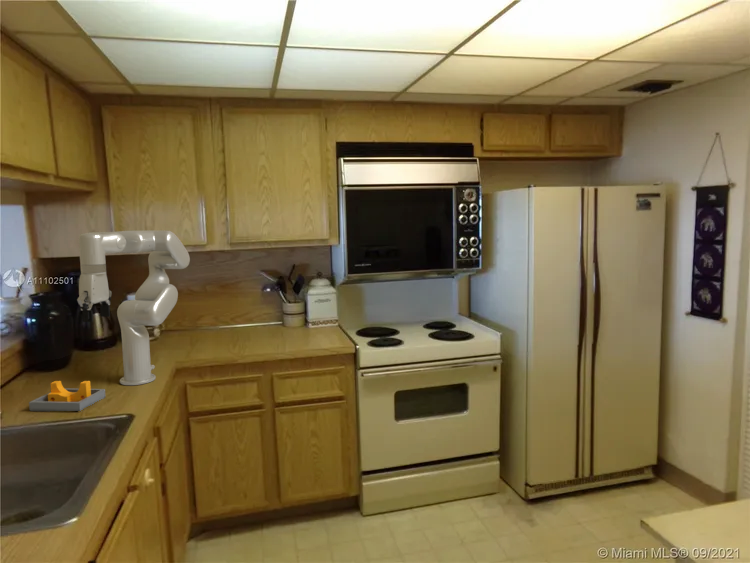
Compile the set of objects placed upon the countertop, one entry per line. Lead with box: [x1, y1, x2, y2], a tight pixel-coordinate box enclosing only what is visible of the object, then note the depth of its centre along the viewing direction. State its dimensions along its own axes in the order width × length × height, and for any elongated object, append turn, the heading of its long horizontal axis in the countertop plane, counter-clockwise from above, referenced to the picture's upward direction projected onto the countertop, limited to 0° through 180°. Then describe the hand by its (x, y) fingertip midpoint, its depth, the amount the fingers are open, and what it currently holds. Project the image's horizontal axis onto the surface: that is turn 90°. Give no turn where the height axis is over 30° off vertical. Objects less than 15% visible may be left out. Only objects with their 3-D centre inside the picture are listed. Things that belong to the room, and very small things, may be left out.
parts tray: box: [28, 387, 106, 412], centre depth 169 cm, size 14×17×3 cm
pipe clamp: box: [48, 380, 92, 402], centre depth 169 cm, size 12×4×6 cm, turn 90°
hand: (96, 319), depth 171 cm, fingers open, 9 cm apart
